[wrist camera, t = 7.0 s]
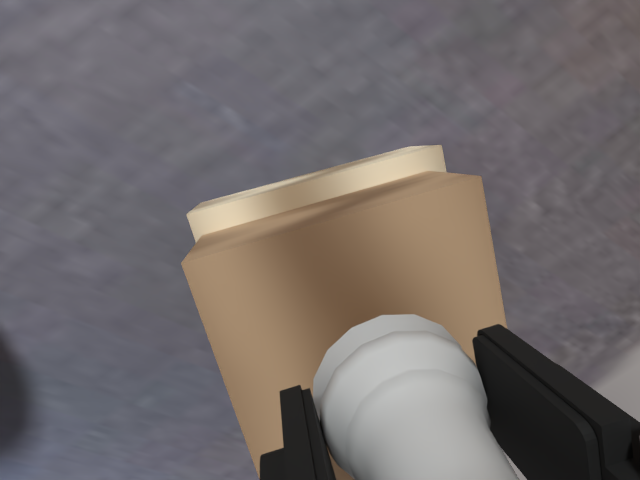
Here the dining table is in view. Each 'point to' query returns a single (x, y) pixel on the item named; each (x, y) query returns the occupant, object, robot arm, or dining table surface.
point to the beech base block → (313, 188)
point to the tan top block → (339, 284)
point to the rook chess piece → (406, 405)
